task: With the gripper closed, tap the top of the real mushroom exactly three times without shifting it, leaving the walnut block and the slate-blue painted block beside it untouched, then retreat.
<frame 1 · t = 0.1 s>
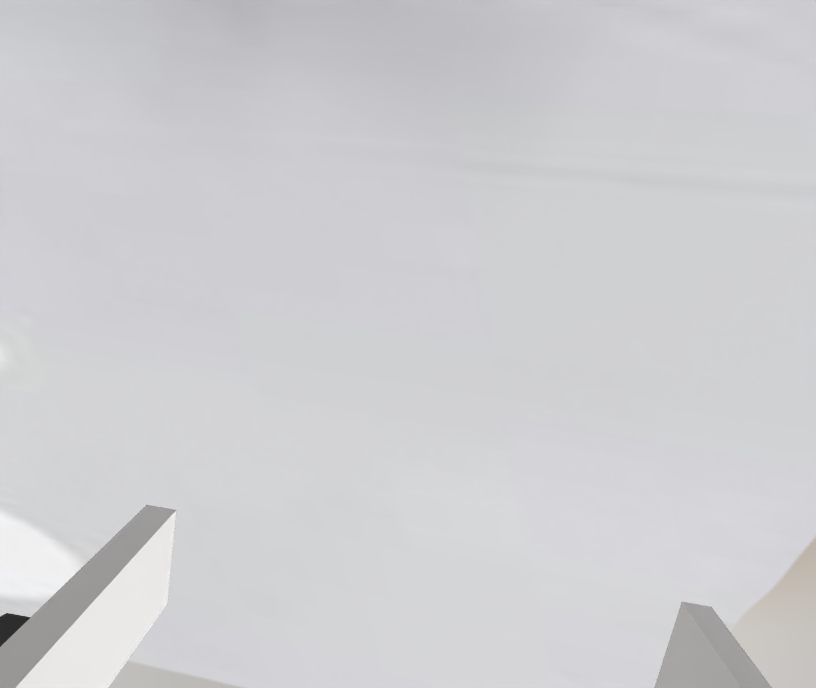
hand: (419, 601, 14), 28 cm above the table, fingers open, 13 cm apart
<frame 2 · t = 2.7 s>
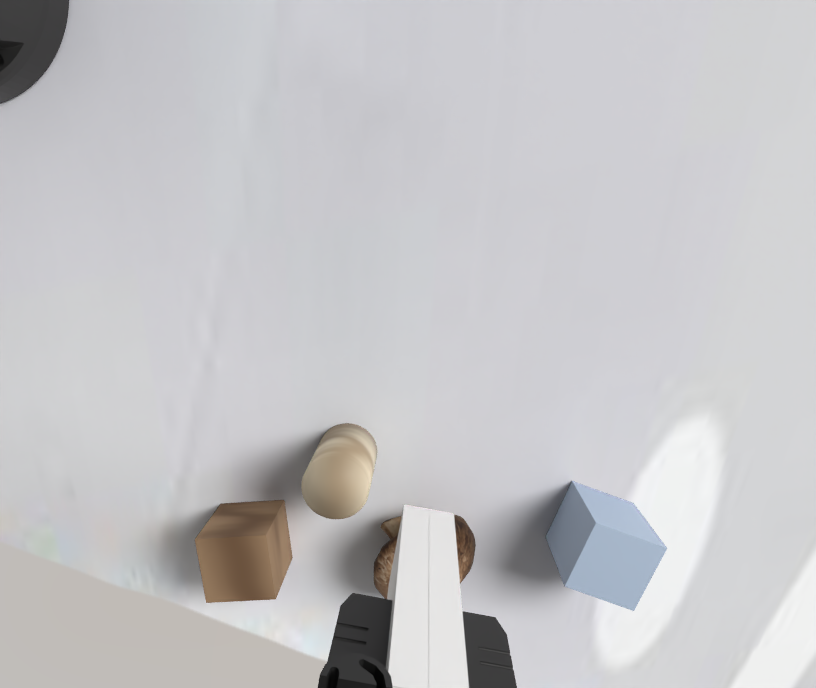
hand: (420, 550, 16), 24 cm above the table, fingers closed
mushroom: (424, 536, 43), on the table
walnut block: (257, 530, 43), on the table
slate block: (588, 519, 42), on the table
birch cylinder: (348, 451, 41), on the table
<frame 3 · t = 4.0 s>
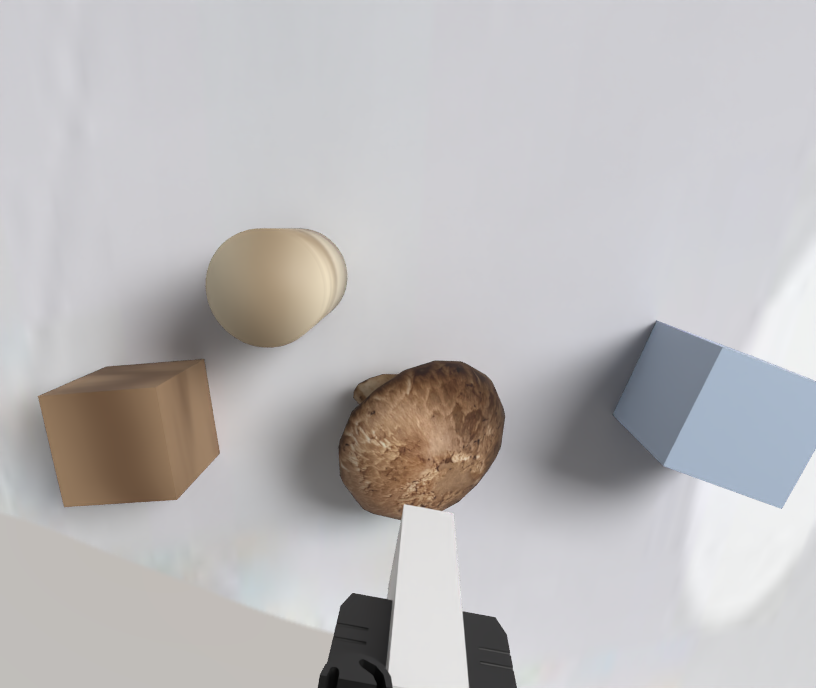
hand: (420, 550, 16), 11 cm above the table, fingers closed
mushroom: (423, 417, 28), on the table
walnut block: (164, 410, 28), on the table
slate block: (681, 385, 27), on the table
birch cylinder: (301, 275, 26), on the table
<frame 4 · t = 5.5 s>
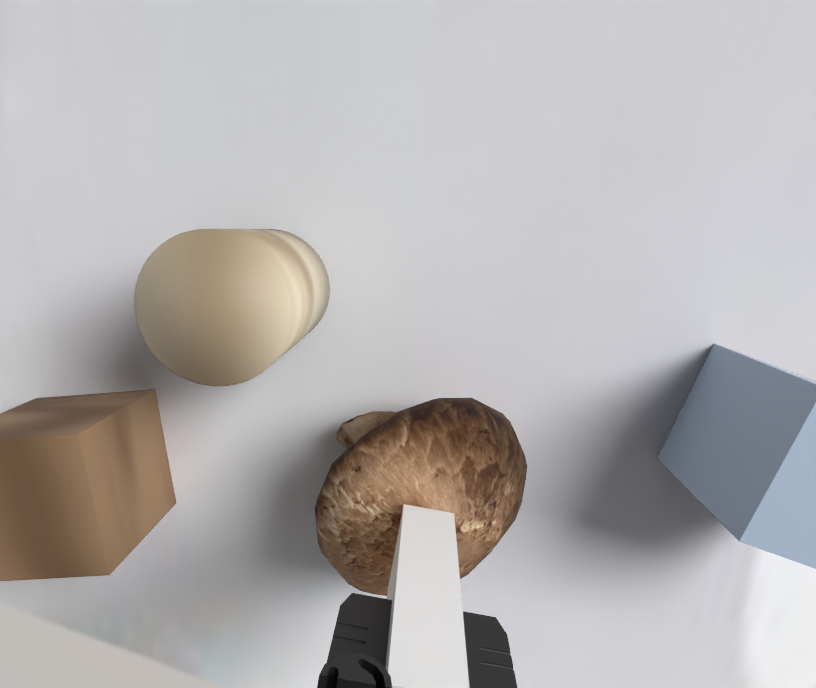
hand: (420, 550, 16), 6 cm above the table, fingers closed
mushroom: (423, 460, 22), on the table
walnut block: (108, 450, 23), on the table
slate block: (743, 423, 21), on the table
birch cylinder: (272, 287, 21), on the table
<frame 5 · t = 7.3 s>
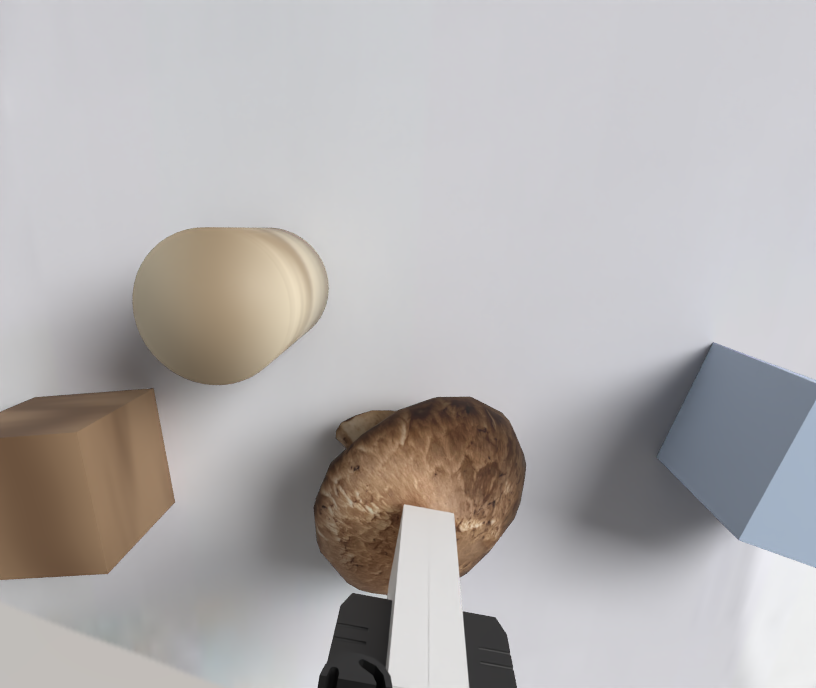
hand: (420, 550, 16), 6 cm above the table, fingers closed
mushroom: (422, 459, 22), on the table
walnut block: (107, 449, 23), on the table
slate block: (742, 422, 21), on the table
birch cylinder: (271, 286, 21), on the table
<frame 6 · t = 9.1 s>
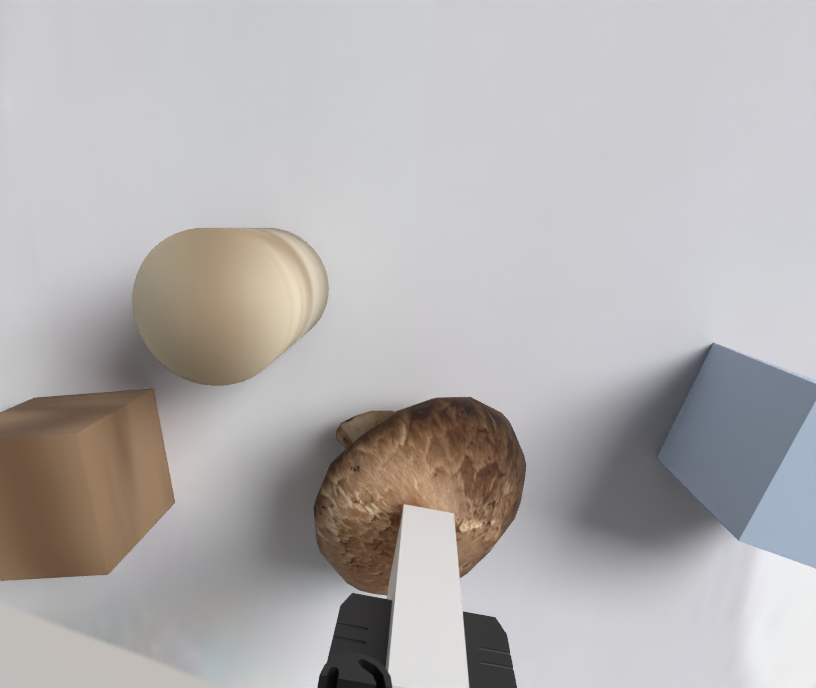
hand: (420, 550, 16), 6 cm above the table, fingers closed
mushroom: (422, 460, 22), on the table, touching gripper
walnut block: (107, 450, 23), on the table
slate block: (742, 422, 21), on the table
birch cylinder: (271, 286, 21), on the table
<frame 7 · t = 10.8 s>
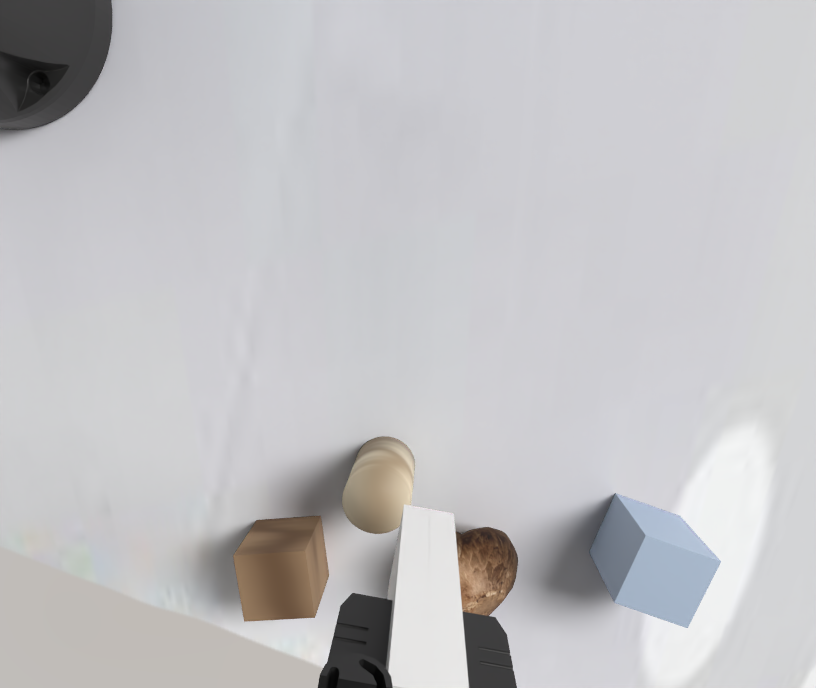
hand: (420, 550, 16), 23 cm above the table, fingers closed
mushroom: (463, 552, 42), on the table
walnut block: (293, 547, 42), on the table
slate block: (633, 533, 41), on the table
birch cylinder: (385, 464, 41), on the table
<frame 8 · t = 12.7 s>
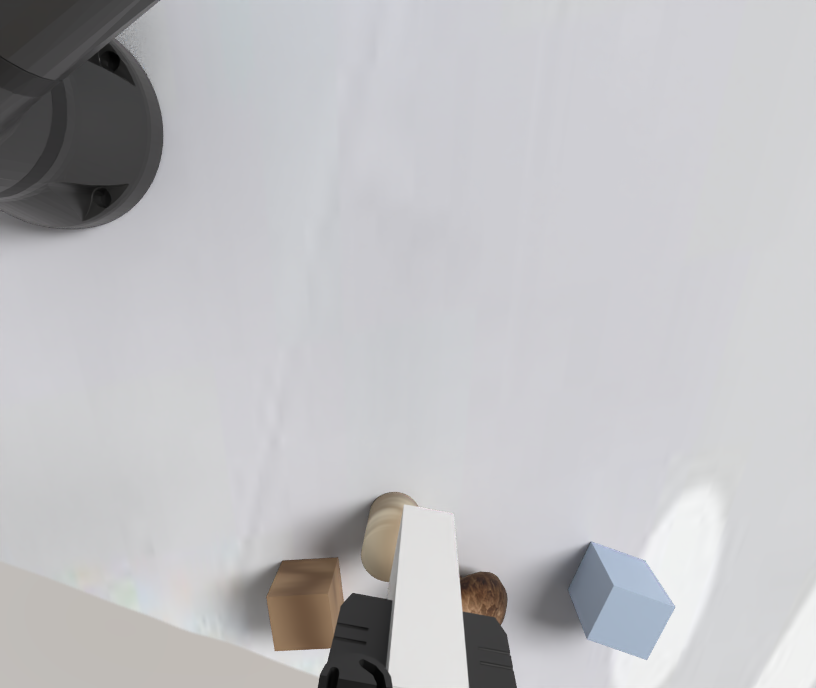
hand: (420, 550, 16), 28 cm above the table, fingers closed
mushroom: (460, 588, 49), on the table
walnut block: (313, 583, 49), on the table
slate block: (605, 574, 48), on the table
birch cylinder: (394, 515, 47), on the table
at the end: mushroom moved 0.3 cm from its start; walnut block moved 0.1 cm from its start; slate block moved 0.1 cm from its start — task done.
